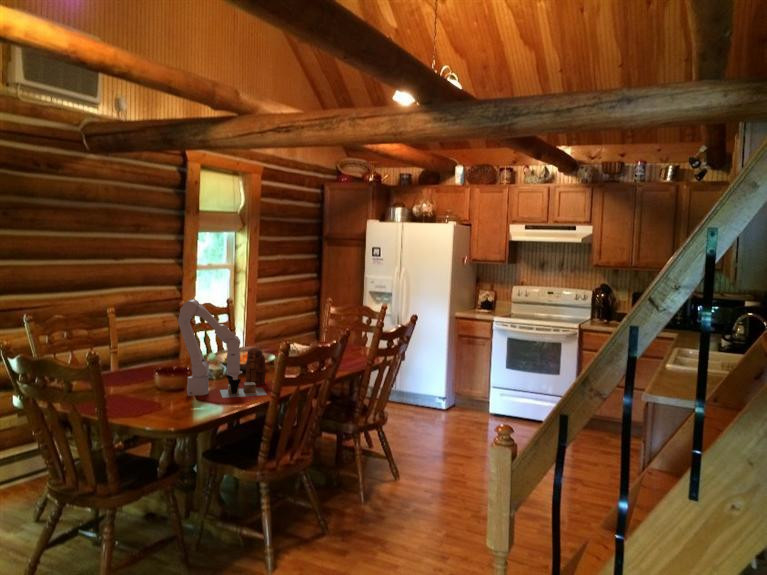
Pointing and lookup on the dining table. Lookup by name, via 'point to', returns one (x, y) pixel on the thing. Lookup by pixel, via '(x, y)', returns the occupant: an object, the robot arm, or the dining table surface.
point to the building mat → (241, 393)
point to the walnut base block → (249, 387)
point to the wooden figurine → (255, 366)
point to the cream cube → (230, 389)
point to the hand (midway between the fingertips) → (233, 391)
